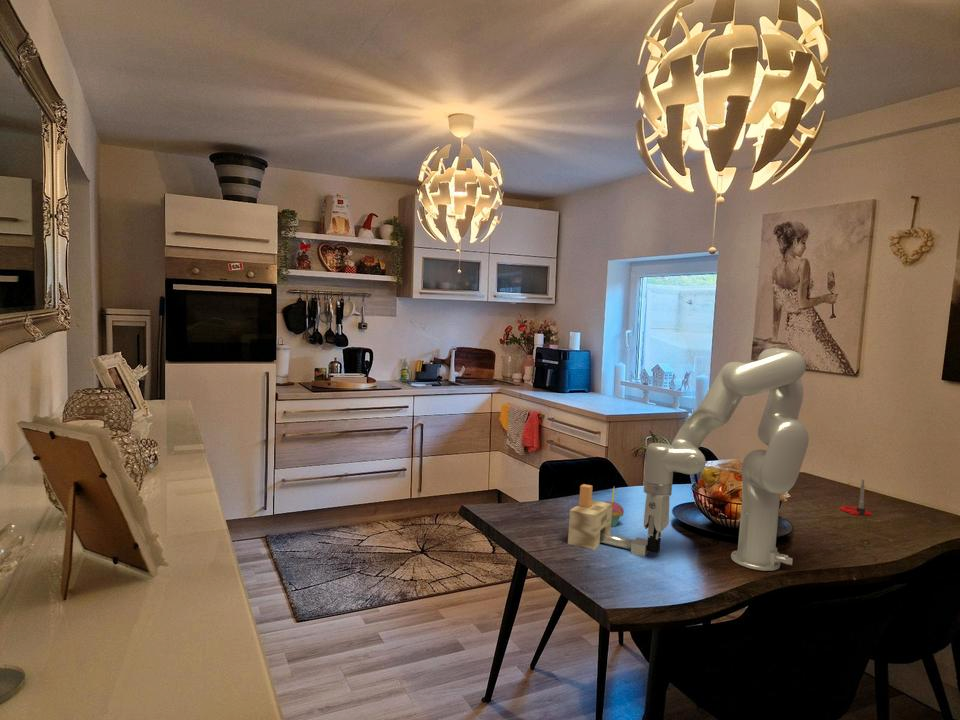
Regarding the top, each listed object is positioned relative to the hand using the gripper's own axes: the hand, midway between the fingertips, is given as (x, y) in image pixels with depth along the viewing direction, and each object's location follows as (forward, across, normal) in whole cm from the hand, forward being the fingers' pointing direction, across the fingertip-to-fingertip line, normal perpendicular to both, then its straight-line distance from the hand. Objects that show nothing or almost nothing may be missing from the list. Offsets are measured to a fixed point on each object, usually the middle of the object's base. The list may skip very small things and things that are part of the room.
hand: (653, 551), depth 177 cm
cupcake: (+1, +18, +19) cm, 26 cm away
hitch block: (+1, 0, +19) cm, 19 cm away
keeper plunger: (-8, 0, +21) cm, 22 cm away
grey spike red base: (+2, +90, -50) cm, 102 cm away
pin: (+1, 0, +12) cm, 12 cm away
